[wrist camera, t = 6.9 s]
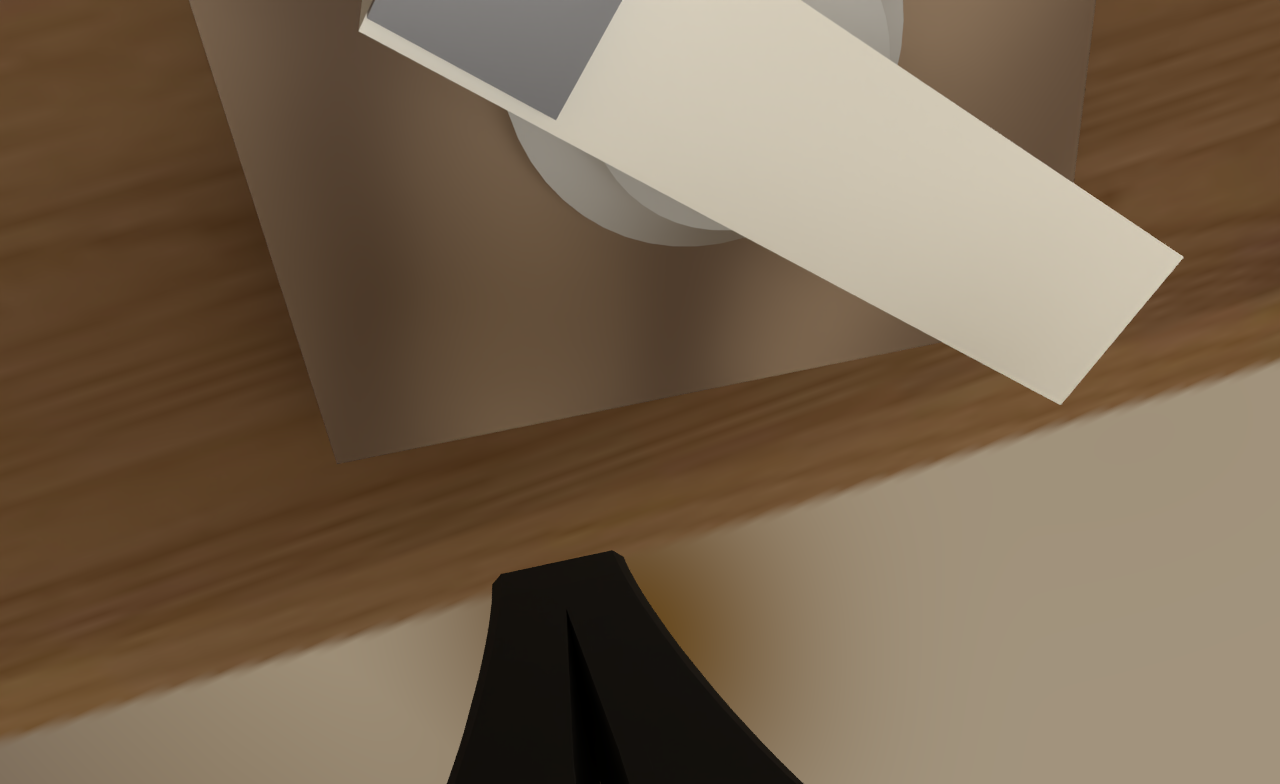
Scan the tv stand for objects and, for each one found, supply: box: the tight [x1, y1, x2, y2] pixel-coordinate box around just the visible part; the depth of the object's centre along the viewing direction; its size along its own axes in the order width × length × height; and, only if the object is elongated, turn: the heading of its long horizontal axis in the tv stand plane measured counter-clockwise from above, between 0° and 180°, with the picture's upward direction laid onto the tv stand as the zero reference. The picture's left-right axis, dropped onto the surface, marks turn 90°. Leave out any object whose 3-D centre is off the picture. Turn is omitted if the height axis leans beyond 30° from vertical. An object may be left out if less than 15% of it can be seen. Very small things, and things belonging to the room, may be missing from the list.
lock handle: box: [359, 0, 1183, 405], centre depth 14 cm, size 10×4×5 cm, turn 59°
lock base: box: [189, 0, 1096, 464], centre depth 17 cm, size 15×14×3 cm
